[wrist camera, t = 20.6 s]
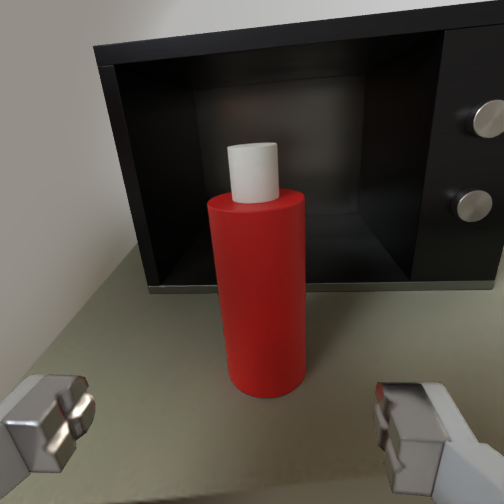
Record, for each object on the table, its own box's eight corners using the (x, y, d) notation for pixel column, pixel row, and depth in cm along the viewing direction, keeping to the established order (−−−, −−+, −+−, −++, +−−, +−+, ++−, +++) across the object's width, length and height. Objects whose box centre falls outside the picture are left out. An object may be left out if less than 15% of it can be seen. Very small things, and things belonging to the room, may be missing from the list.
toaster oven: (144, 299, 34) (83, 42, 25) (203, 223, 59) (184, 80, 50) (500, 295, 30) (584, -16, 21) (402, 215, 55) (421, 57, 46)
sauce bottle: (222, 397, 21) (186, 153, 15) (235, 341, 27) (212, 144, 20) (308, 400, 21) (308, 145, 14) (304, 342, 26) (302, 138, 20)
